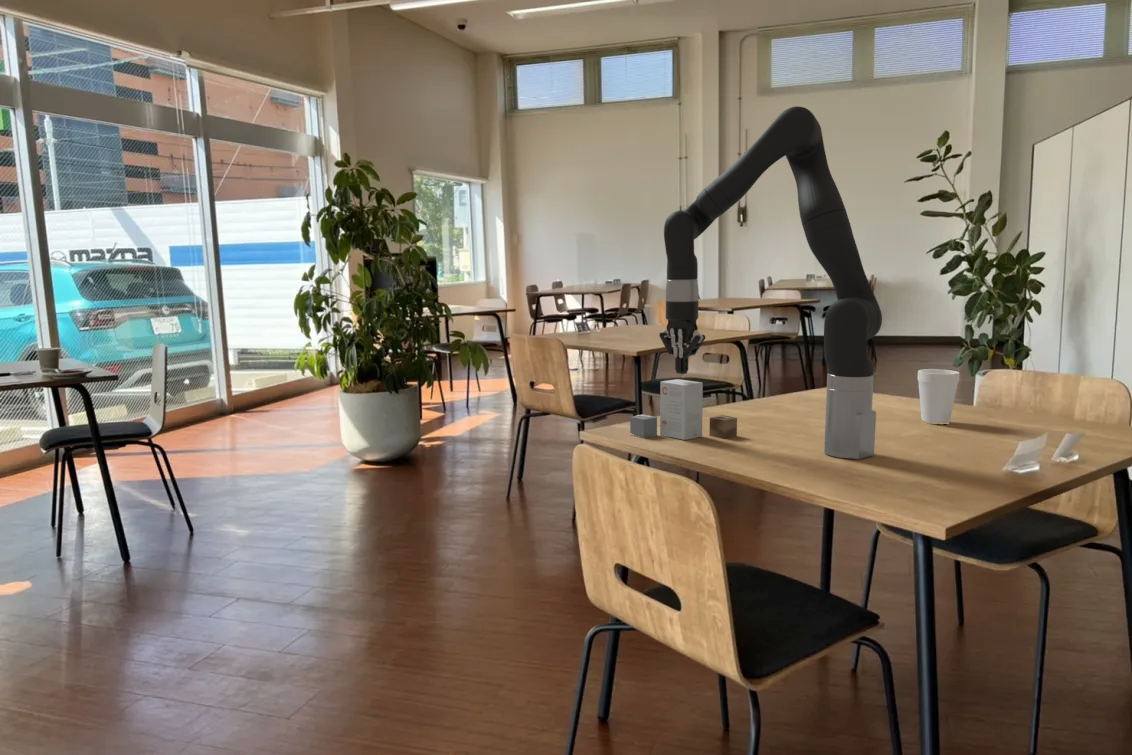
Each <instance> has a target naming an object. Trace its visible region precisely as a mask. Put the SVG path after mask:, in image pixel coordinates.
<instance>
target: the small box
mask: <svg viewBox="0 0 1132 755" xmlns="http://www.w3.org/2000/svg"><path fill="white" fill-rule="evenodd" d="M703 388H704V386H703V382H702V381H701V382H700V381H694V380H685V379H678V378H676V379H670V380H669V379H667V380H663V381H660V391H659V392H660V398H659V399H660V404H659V405H660V407H659V411H660V412H659V414H660V416H659V419H660V420H659V422H660V423H659V424H660V425H659V427H660V428H659V432H660V433H659V435H660V436H665V437H669V438H673V439H679V440H682V441H686V440H693V439H697V438H701V437H702V436H703V402H704V401H703V400H704V399H703V396H704V394H703V390H704V389H703Z"/></svg>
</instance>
